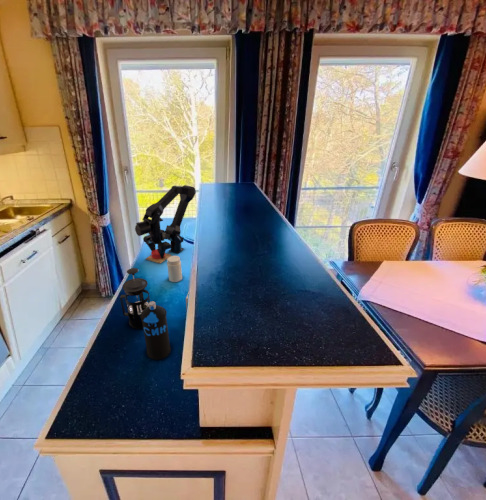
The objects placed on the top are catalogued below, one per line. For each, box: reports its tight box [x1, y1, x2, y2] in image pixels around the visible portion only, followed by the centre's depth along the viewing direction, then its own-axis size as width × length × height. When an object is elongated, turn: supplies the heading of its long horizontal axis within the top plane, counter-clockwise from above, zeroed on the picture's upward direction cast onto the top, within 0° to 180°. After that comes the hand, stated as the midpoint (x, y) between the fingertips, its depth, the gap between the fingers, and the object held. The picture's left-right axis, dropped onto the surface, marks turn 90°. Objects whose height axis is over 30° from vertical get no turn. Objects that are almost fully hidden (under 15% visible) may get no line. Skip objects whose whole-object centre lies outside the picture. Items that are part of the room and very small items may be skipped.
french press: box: [119, 267, 151, 330], centre depth 104 cm, size 12×9×23 cm
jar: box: [166, 255, 183, 283], centre depth 134 cm, size 7×7×11 cm
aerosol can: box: [139, 300, 172, 361], centre depth 91 cm, size 8×8×20 cm
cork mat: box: [145, 252, 172, 264], centre depth 157 cm, size 10×10×1 cm
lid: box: [150, 248, 165, 259], centre depth 156 cm, size 8×8×2 cm
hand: (158, 256), depth 156 cm, fingers closed on lid, 7 cm apart
